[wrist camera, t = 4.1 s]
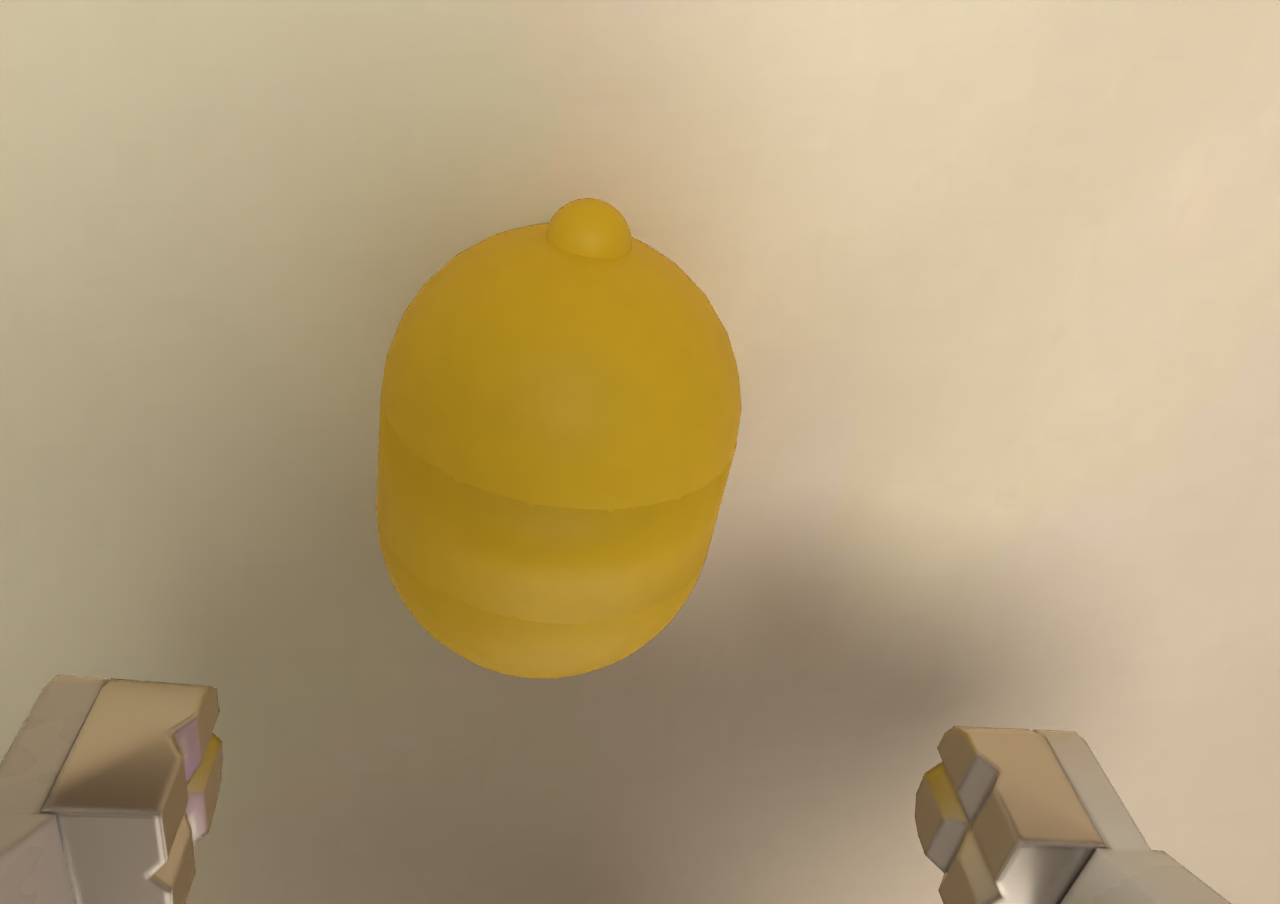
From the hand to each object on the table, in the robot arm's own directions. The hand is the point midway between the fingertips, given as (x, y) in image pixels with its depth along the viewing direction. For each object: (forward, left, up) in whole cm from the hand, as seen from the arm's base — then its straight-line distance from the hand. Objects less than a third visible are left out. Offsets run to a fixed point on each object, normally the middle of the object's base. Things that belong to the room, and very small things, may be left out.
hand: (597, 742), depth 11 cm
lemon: (0, 0, -8) cm, 8 cm away
